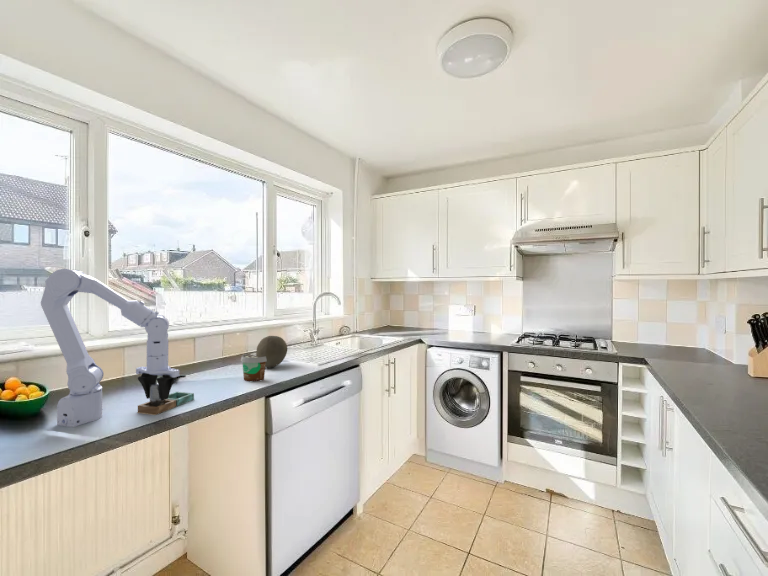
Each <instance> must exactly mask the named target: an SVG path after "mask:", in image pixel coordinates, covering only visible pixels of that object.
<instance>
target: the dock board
mask: <svg viewBox="0 0 768 576" xmlns="http://www.w3.org/2000/svg"><path fill="white" fill-rule="evenodd" d="M193 400H195V394H194V392H183V391H175V392H170V393H169V397H168V399H165V404H163V405H160V406H158V407H155V406H150V400H149V401H147V402H144V403H141V404H138V405H137V412H136V414H143V415H151V416H156V415H159V414H162V413H163V412H167V411H169V410H171V409H174V408H176V407H179V406H181V405H184V404H186V403H189V402H191V401H193Z"/></svg>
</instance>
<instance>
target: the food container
mask: <svg viewBox="0 0 768 576" xmlns="http://www.w3.org/2000/svg"><path fill="white" fill-rule="evenodd" d="M266 361H267V359H266V356H265V357H257V356H256V355H248V353H244V354H242V355H241V358H240V362H242V374H243V381H245V382H250V381H253V382H261V381H260V380H262V381H265V374H266V367H265V363H266Z"/></svg>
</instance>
